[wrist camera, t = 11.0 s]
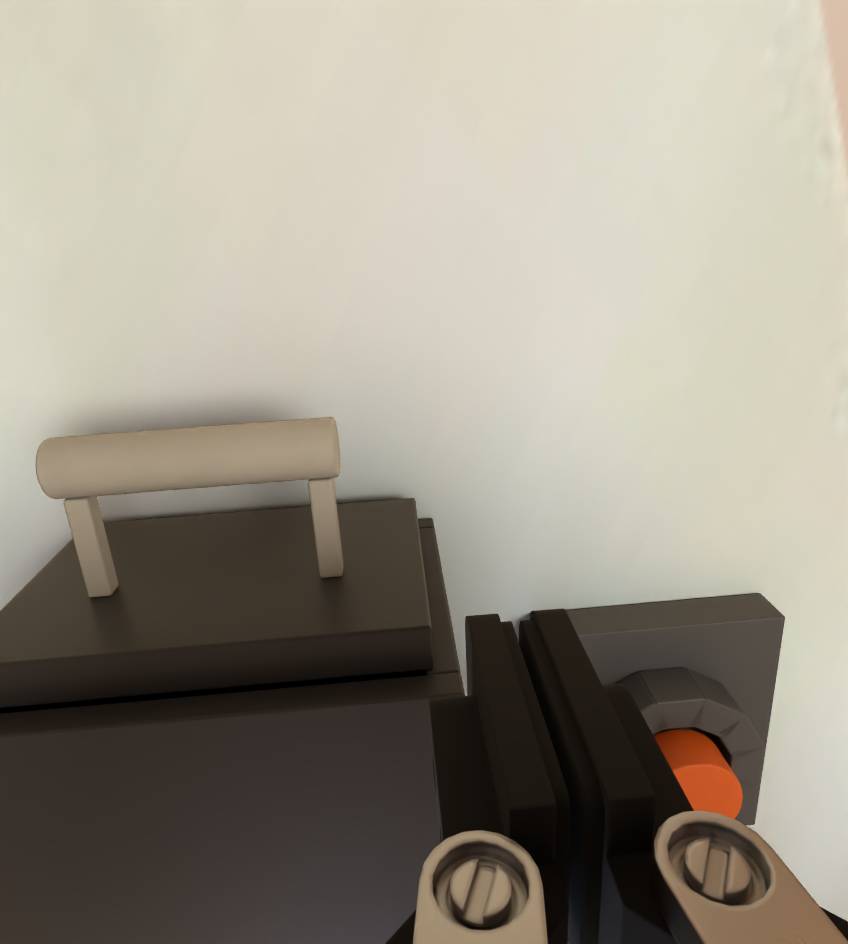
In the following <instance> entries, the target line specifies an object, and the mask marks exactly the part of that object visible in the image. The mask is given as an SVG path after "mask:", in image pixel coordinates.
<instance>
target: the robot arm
mask: <svg viewBox="0 0 848 944" xmlns="http://www.w3.org/2000/svg"><path fill="white" fill-rule="evenodd" d="M465 633H466V663H467V693H468V696H463V697H451V698H439V699H429V700H428V705H429V724H430V740H431V755H432V768H433V780H434V792H435V802H436V813H437V823H438V833H439V845H438V846H437V847H435V848H434V849H433V851H432V852H431V853H430V855H429V856H428V858H427V859H426V861H425V862H424V865H423V869H422V872H421V876H420V879H419V888H418V898H417V908H416V910H415V911H414V912H413V913H412V915H411V916H410V917H409V918H408V919H407V920H406V921H405V922H404V923H403V925H402V926H401V927H400V928H399V929H398V930H397V931H396V932H395V933H394V935H393V936H392V937H391V938H390V939H389V940H388V941H387V942H386V943H385V944H848V922H847V921H845V920H843V919H842V918H840V917H838V916H836V915H834V914H832V913H831V912H829V911H827V910H825V909H823V908H821V907H820V906H819V905H818V904H817V903H816V902H815V900H814V899H813V898H812V897H811V895H810V894H809V893H808V892H807V890H806V889H805V888H804V887H803V886H802V884H801V883H800V882H799V881H798V879H797V878H796V877H795V876H794V875H793V873H792V872H791V871H790V870H789V868H788V867H787V866H786V865H785V863H784V862H783V861H782V860H781V859H780V857H779V856H778V855H777V854H776V852H775V851H774V850H773V849H772V848H771V846H770V845H769V844H767V843H766V842H765V841H764V840H763V839H762V838H761V837H760V836H759V835H758V834H757V833H756V832H755V831H753V830H752V829H750V828H748V827H747V826H745V825H744V824H742V823H741V822H739V821H737V820H734V819H732V818H729V817H727V816H724V815H722V814H719V813H713V812H707V811H694V810H693V808H692V806H691V804H690V802H689V800H688V799H687V797H686V795H685V793H684V791H683V789H682V787H681V786H680V784H679V782H678V780H677V778H676V776H675V774H674V773H673V771H672V769H671V767H670V765H669V763H668V761H667V760H666V758H665V756H664V754H663V752H662V750H661V749H660V747H659V745H658V743H657V741H656V739H655V737H654V736H653V734H652V732H651V730H650V728H649V726H648V724H647V723H646V721H645V719H644V717H643V715H642V713H641V712H640V710H639V708H638V706H637V704H636V702H635V700H634V699H633V697H632V695H631V693H630V691H629V690H628V689H627V687H626V686H625V685H623V684H610V685H602V684H601V682H600V680H599V678H598V676H597V674H596V672H595V670H594V667H593V665H592V663H591V661H590V659H589V657H588V655H587V653H586V651H585V649H584V647H583V645H582V643H581V641H580V639H579V637H578V635H577V633H576V631H575V628H574V626H573V624H572V622H571V620H570V618H569V616H568V614H567V612H566V611H565V609H552V610H539V611H532V612H531V614H530V620H522V621H520V624H519V642H518V639H517V637H516V634H515V631H514V628H513V625H512V622H511V621H509V622H501V621H500V618H499V615H498V614H487V615H475V616H466V618H465Z"/></svg>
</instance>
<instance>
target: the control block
mask: <svg viewBox="0 0 848 944" xmlns="http://www.w3.org/2000/svg"><path fill="white" fill-rule="evenodd" d="M565 611H566V612H567V614H568V616H569V618H570V620H571V622H572V624H573V626H574V628H575V631H576V633H577V635H578V637H579V639H580V641H581V643H582V645H583V647H584V649H585V651H586V653H587V655H588V657H589V659H590V661H591V663H592V665H593V667H594V670H595V672H596V674H597V676H598V678H599V680H600V682H601V684H602V685H610V684H623V685H625V686H626V687H627V689H628V690H629V691H630V693H631V695H632V697H633V699H634V700H635V702H636V704H637V706H638V708H639V710H640V712H641V713H642V715H643V717H644V719H645V721H646V723H647V724H648V726H649V728H650V730H651V732H652V734H653V735H654V734H656V733H659V732H662V731H666V730H672V729H688V730H693V731H696V732H699V733H701V734H703V735H705V736H707V737H708V738H709V739H710V740H712V741H713V742H714V744H715V745H716V746H717V748H718V749H719V751H720V753H721V754H722V756H723V757H724V759H725V760H726V762H727V763H728V765H729V766H730V768H731V769H732V771H733V773H734V774H735V776H736V777H737V779H738V780H739V782H740V784H741V788H742V794H743V800H742V805H741V808H740V811H739V813H738V815H737V816H736V818H735V819H734V820H737V821H739V822H741V823H742V824H744V825H754V824H755V817H756V811H757V804H758V797H759V790H760V783H761V777H762V770H763V763H764V756H765V749H766V743H767V736H768V729H769V722H770V716H771V709H772V702H773V695H774V688H775V682H776V675H777V668H778V661H779V654H780V648H781V641H782V634H783V627H784V620H785V617H784V616H783V615H782V614H781V613H780V612H779V611H778V610H777V609H776V608H775V607H774V606H773V605H772V604H771V603H770V602H769V601H768V600H767V599H766V598H765V597H764V596H762V595H761V594H760V593H758V594H747V595H735V596H724V597H713V598H701V599H690V600H678V601H667V602H655V603H644V604H632V605H621V606H609V607H598V608H586V609H575V610H565ZM530 614H531V613H530Z"/></svg>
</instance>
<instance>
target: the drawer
mask: <svg viewBox="0 0 848 944" xmlns="http://www.w3.org/2000/svg"><path fill="white" fill-rule="evenodd" d="M36 473H37V478H38V481H39V484H40V486H41V488H42V490H43V491H44V493H45V494H46V495H47V496H49V497H51V498H53V499H63V498H67V499H65V500H64V506H65V510H66V514H67V518H68V521H69V525H70V529H71V532H72V536H73V539H72V540H71V541H70V542H69V543H68V544H67V545H66V546H65V547H64V548H63V549H62V550H61V551H60V552H59V553H58V554H57V555H56V556H55V557H54V558H53V559H52V560H51V561H50V562H49V563H48V564H47V565H46V566H45V567H44V568H43V569H42V570H41V571H40V572H39V573H38V574H37V575H36V576H35V577H34V578H33V579H32V580H31V581H30V582H29V583H28V584H27V585H26V586H25V587H24V588H23V589H22V590H21V591H20V592H19V593H18V594H17V595H16V596H15V597H14V598H13V599H12V600H11V601H10V602H9V603H8V604H7V605H6V606H5V607H4V608H3V609H2V610H1V611H0V708H6V707H17V706H28V705H39V704H42V706H41V707H40V709H39V710H47V709H58V708H69V707H80V706H91V705H102V704H113V703H124V702H135V701H147V700H158V699H169V698H180V697H191V696H202V695H213V694H224V693H235V692H247V691H258V690H269V689H280V688H291V687H302V686H313V685H324V684H335V683H346V682H358V681H369V680H380V679H391V678H402V677H409V672H408V671H418V670H429V669H433V667H434V658H433V643H432V628H431V620H430V612H429V604H428V596H427V588H426V581H425V573H424V565H423V557H422V549H421V541H420V534H419V526H418V518H417V510H416V502H415V499H414V498H406V499H394V500H381V501H369V502H356V503H344V504H336V495H335V487H334V478H333V477H337V476H339V473H340V448H339V438H338V430H337V425H336V421H335V419H334V418H333V417H323V418H310V419H296V420H283V421H270V422H257V423H243V424H230V425H217V426H204V427H190V428H177V429H164V430H150V431H137V432H124V433H111V434H97V435H84V436H71V437H58V438H49V439H46V440H45V441H43V442H42V443H41V445H40V446H39V449H38V451H37V455H36ZM305 479H309V481H308V488H309V496H310V503H311V506H306V507H294V508H281V509H269V510H257V511H244V512H232V513H219V514H207V515H194V516H182V517H169V518H157V519H144V520H132V521H119V522H107V523H103V520H102V516H101V512H100V508H99V504H98V500H97V496H101V495H114V494H127V493H140V492H152V491H165V490H178V489H190V488H203V487H216V486H229V485H241V484H254V483H267V482H279V481H292V480H305Z"/></svg>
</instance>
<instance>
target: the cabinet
mask: <svg viewBox="0 0 848 944" xmlns="http://www.w3.org/2000/svg"><path fill="white" fill-rule="evenodd" d="M418 526H419V534H420V541H421V549H422V557H423V565H424V573H425V581H426V588H427V596H428V604H429V612H430V620H431V628H432V643H433V658H434V667H433V669H429V670H418V671H408V672H409V677H402V678H391V679H380V680H369V681H358V682H346V683H335V684H324V685H313V686H302V687H291V688H280V689H269V690H258V691H247V692H235V693H224V694H213V695H202V696H191V697H180V698H169V699H158V700H147V701H135V702H124V703H113V704H102V705H91V706H80V707H69V708H58V709H47V710H39V709H40V707H41V706H42V704H39V705H28V706H17V707H6V708H0V944H385V943H386V942H387V941H388V940H389V939H390V938H391V937H392V936H393V935H394V933H395V932H396V931H397V930H398V929H399V928H400V927H401V926H402V925H403V923H404V922H405V921H406V920H407V919H408V918H409V917H410V916H411V915H412V913H413V912H414V911H415V910H416V908H417V898H418V888H419V879H420V876H421V872H422V869H423V865H424V862H425V861H426V859H427V858H428V856H429V855H430V853H431V852H432V851H433V849H434V848H435V847H437V846H438V845H439V833H438V823H437V813H436V802H435V792H434V780H433V768H432V755H431V740H430V724H429V705H428V700H429V699H439V698H451V697H463V696H465V695H464V689H463V683H462V678H461V674H460V667H459V662H458V656H457V651H456V645H455V639H454V634H453V628H452V623H451V617H450V612H449V606H448V601H447V595H446V590H445V584H444V578H443V573H442V567H441V562H440V556H439V551H438V545H437V540H436V534H435V529H434V523H433V519H432V518H427V519H418Z"/></svg>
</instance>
